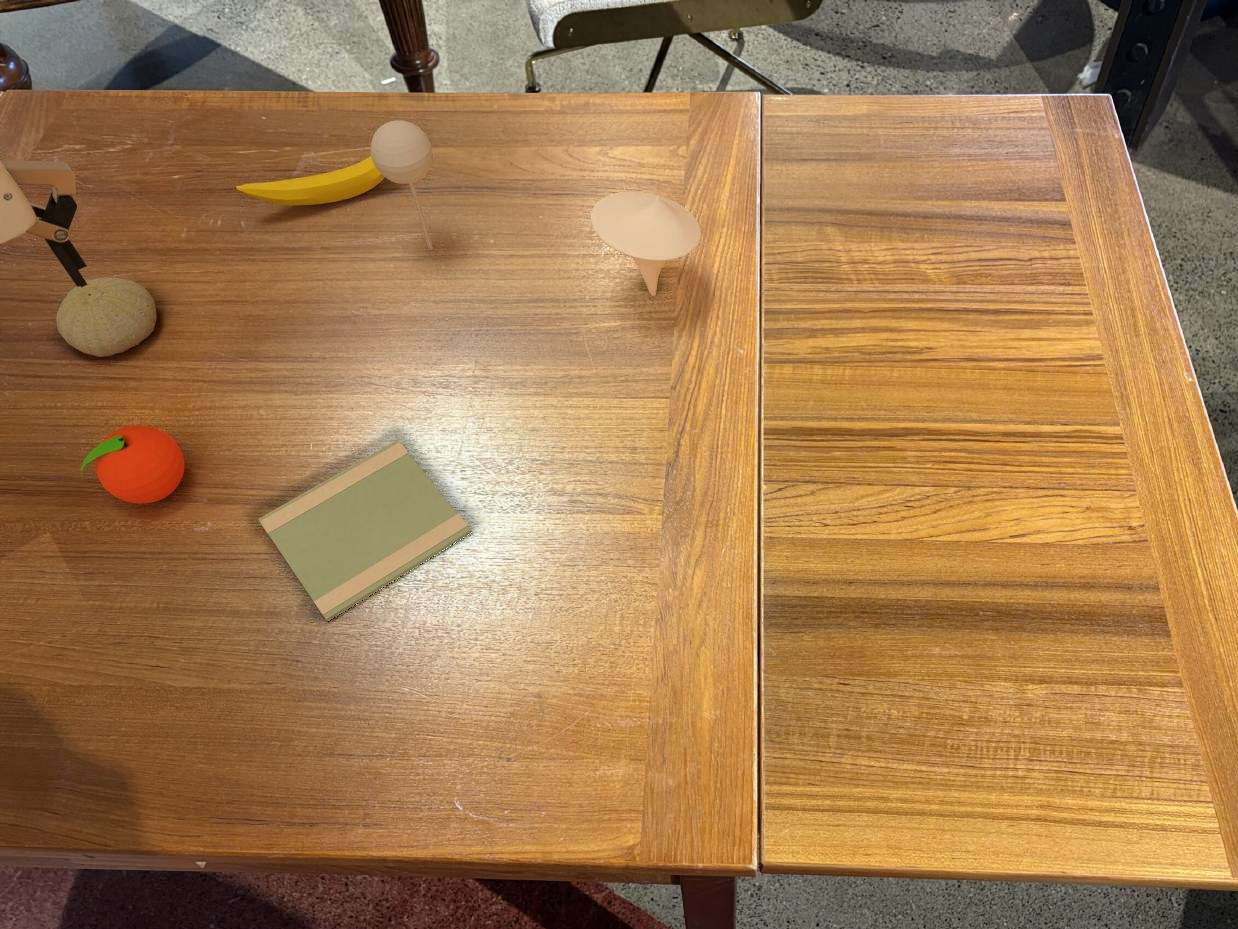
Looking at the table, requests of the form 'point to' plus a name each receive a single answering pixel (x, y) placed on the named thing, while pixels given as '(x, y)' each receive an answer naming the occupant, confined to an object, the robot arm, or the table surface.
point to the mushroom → (646, 230)
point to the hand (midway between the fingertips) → (14, 305)
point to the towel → (363, 528)
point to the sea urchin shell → (106, 316)
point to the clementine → (138, 464)
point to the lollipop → (403, 157)
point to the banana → (318, 186)
